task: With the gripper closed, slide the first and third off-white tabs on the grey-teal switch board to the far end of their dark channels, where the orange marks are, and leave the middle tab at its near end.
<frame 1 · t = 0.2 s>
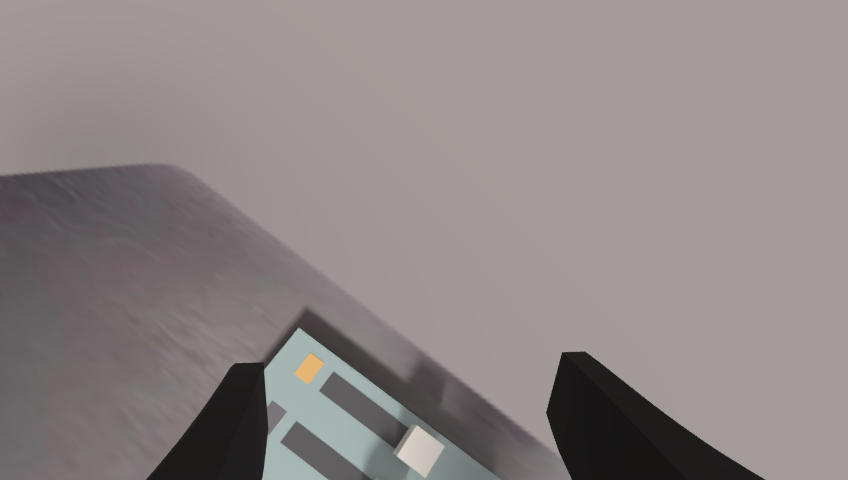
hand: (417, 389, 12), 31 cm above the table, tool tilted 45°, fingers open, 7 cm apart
tab 1: (418, 449, 36), point 4 cm above the table, slide at 0.0 cm
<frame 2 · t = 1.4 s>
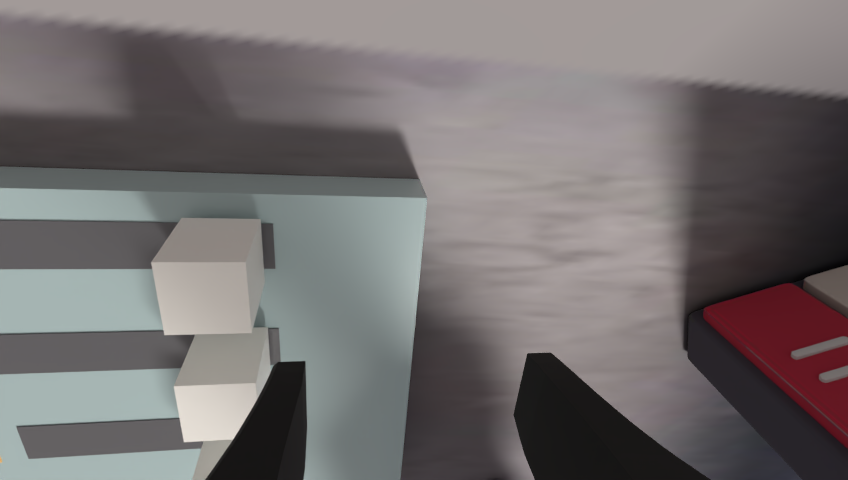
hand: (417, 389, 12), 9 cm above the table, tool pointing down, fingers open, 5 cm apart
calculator: (780, 302, 26), on the table
tab 2: (228, 381, 18), point 4 cm above the table, slide at 0.0 cm
tab 1: (215, 273, 16), point 4 cm above the table, slide at 0.0 cm
tab 3: (238, 467, 20), point 4 cm above the table, slide at 0.0 cm
switch board: (176, 347, 21), on the table
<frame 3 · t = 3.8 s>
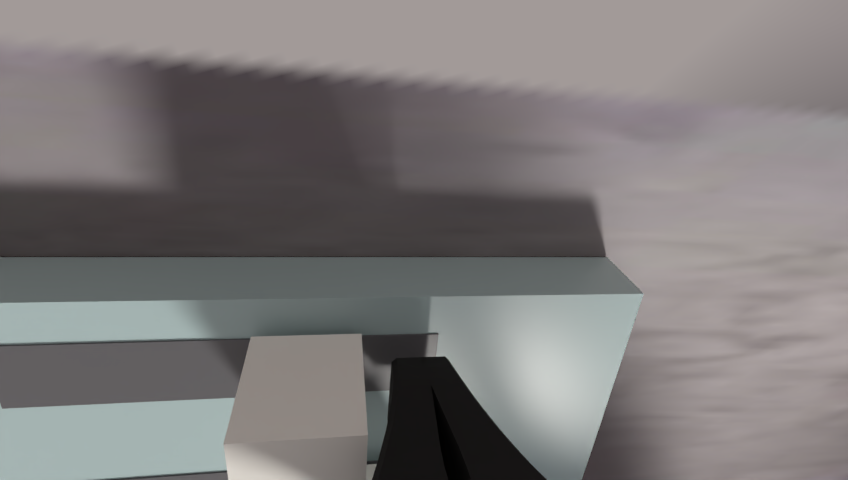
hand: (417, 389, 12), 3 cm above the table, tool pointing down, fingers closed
tab 1: (304, 424, 11), point 4 cm above the table, slide at 1.6 cm, touching gripper
switch board: (273, 466, 16), on the table
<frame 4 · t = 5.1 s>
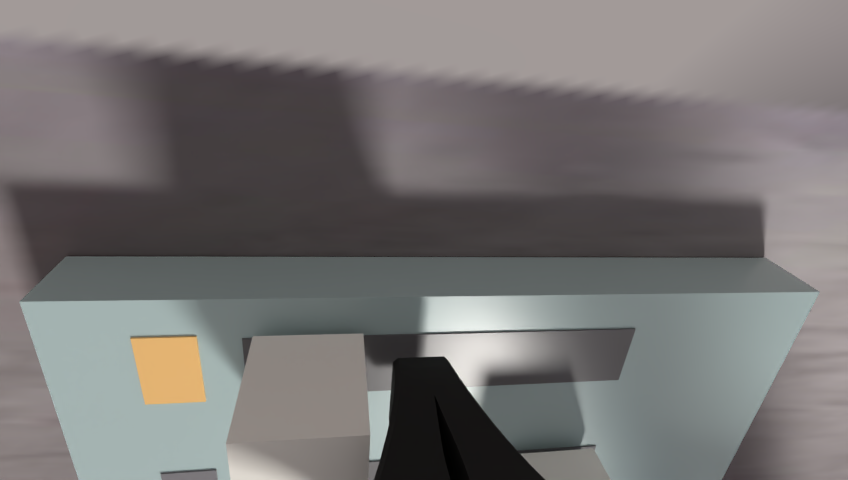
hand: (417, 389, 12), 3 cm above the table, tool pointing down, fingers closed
tab 1: (306, 424, 11), point 4 cm above the table, slide at 7.0 cm, touching gripper
switch board: (433, 455, 17), on the table
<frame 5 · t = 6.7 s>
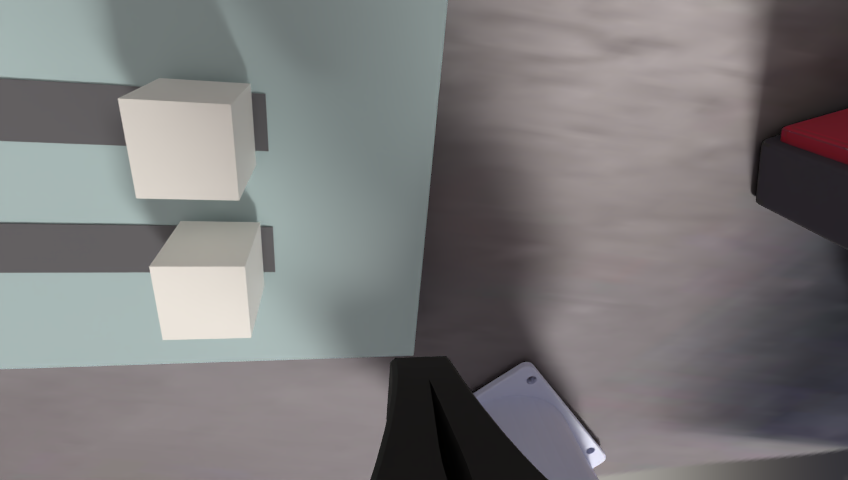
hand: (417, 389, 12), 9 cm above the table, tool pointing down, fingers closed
tab 2: (197, 136, 14), point 4 cm above the table, slide at 0.0 cm
tab 3: (214, 277, 15), point 4 cm above the table, slide at 0.0 cm
switch board: (139, 145, 17), on the table
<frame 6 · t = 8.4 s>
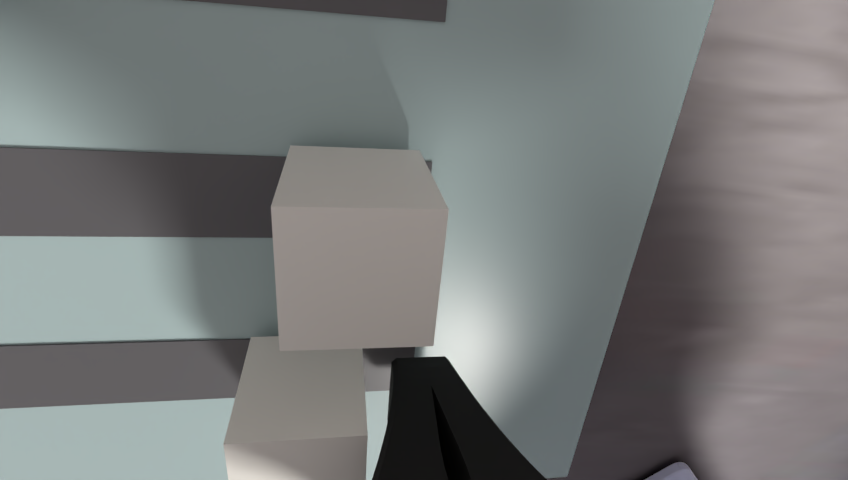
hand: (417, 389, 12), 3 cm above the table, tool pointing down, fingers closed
tab 2: (357, 239, 9), point 4 cm above the table, slide at 0.0 cm
tab 3: (304, 425, 11), point 4 cm above the table, slide at 1.0 cm, touching gripper
switch board: (231, 222, 12), on the table
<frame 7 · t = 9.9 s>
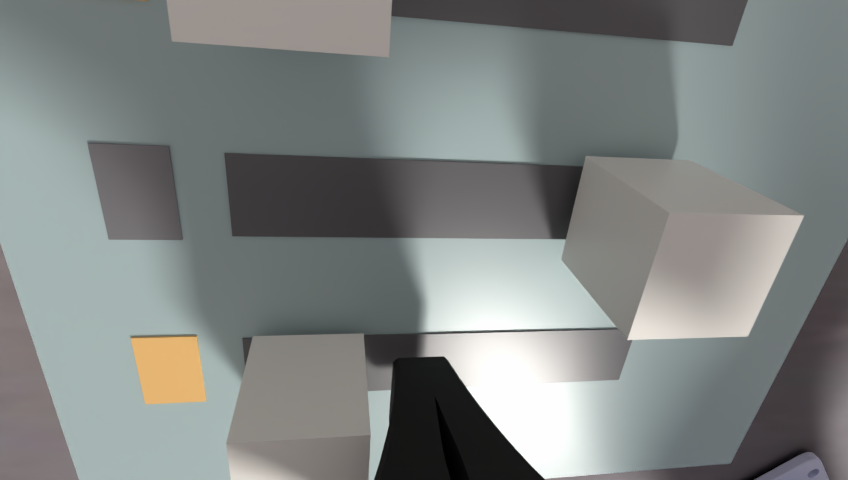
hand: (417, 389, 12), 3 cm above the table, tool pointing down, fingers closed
tab 2: (662, 241, 10), point 4 cm above the table, slide at 0.0 cm
tab 3: (306, 424, 11), point 4 cm above the table, slide at 7.0 cm, touching gripper
switch board: (464, 224, 13), on the table
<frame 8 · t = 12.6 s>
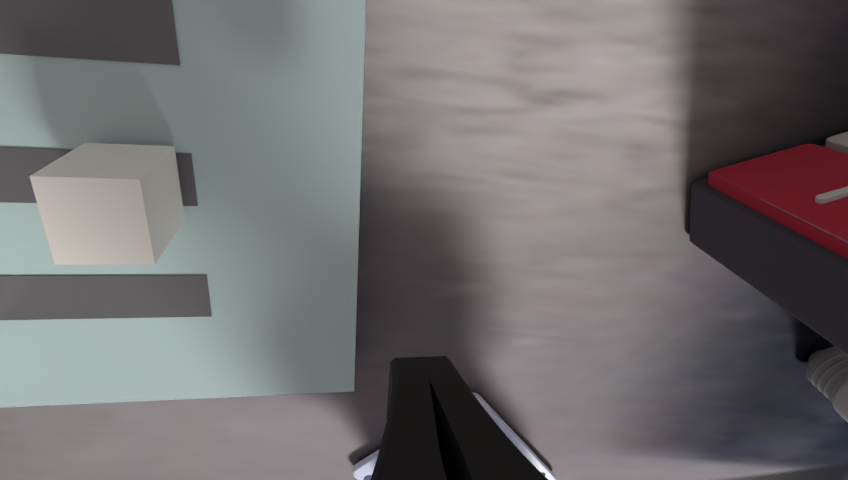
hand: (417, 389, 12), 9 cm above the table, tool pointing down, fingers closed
lightbulb: (811, 353, 28), on the table
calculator: (796, 175, 22), on the table
tab 2: (118, 201, 14), point 4 cm above the table, slide at 0.0 cm
switch board: (78, 196, 18), on the table
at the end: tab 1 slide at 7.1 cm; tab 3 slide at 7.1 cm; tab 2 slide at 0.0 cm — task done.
